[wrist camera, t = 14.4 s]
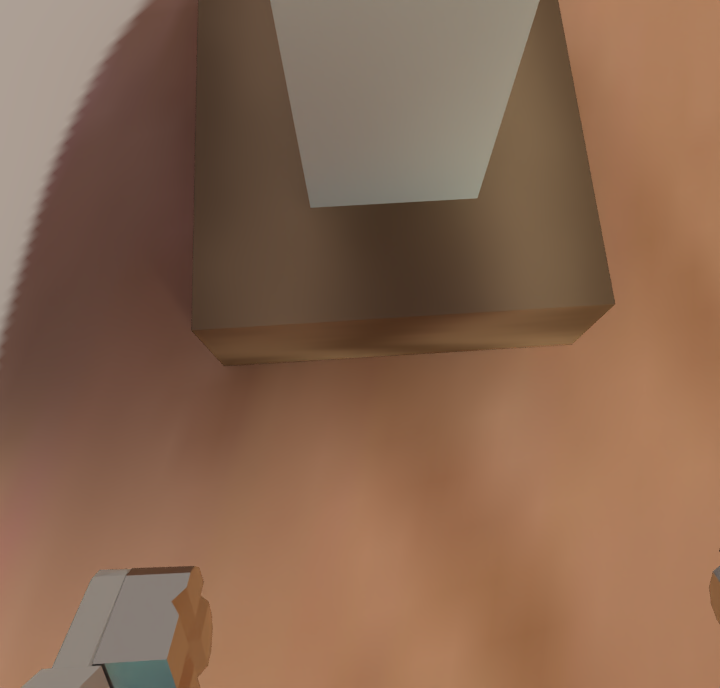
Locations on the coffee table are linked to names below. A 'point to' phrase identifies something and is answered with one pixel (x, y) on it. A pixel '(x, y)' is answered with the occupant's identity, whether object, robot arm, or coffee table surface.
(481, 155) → the light grey block
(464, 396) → the coffee table surface
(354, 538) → the coffee table surface
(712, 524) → the coffee table surface
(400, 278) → the walnut plinth
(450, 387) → the coffee table surface
